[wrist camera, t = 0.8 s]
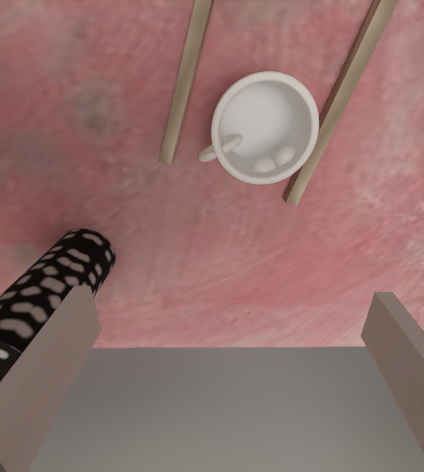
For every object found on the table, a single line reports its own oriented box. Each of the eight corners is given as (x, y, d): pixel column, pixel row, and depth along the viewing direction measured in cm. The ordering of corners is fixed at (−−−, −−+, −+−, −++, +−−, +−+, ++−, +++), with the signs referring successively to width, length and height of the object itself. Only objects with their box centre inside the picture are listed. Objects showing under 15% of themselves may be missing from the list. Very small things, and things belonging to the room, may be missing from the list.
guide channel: (161, 157, 36) (153, 167, 32) (249, -221, 22) (255, -298, 18) (293, 200, 38) (302, 215, 33) (449, -124, 24) (500, -171, 20)
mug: (221, 187, 38) (220, 215, 30) (182, 112, 33) (168, 120, 25) (310, 145, 35) (335, 163, 27) (279, 56, 31) (298, 46, 22)
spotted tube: (123, 271, 44) (56, 393, 27) (75, 279, 46) (-20, 402, 28) (102, 223, 41) (8, 329, 23) (50, 234, 42) (-78, 343, 24)
